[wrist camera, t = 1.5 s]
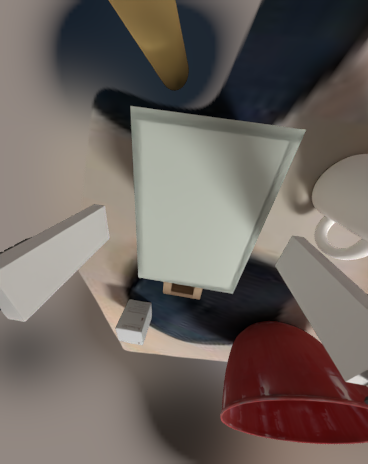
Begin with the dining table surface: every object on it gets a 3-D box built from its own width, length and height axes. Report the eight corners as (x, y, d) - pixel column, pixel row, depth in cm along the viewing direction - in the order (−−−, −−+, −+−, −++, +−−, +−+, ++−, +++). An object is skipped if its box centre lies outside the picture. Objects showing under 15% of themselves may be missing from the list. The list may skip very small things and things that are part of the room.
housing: (170, 126, 19) (130, 105, 8) (248, 137, 18) (306, 129, 8) (164, 223, 26) (138, 277, 15) (221, 232, 25) (232, 293, 15)
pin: (160, 48, 16) (85, -121, 6) (190, 52, 16) (166, -113, 6) (159, 88, 18) (99, 12, 7) (186, 92, 18) (162, 19, 7)
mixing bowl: (358, 309, 32) (468, 426, 19) (302, 365, 46) (342, 454, 33) (222, 294, 35) (234, 389, 21) (210, 352, 49) (212, 429, 36)
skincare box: (151, 302, 39) (142, 332, 33) (152, 315, 42) (143, 346, 36) (128, 298, 39) (114, 328, 33) (130, 312, 42) (118, 341, 36)
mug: (321, 240, 25) (385, 293, 16) (278, 222, 24) (321, 266, 15) (400, 169, 19) (569, 191, 10) (346, 141, 18) (480, 139, 9)
